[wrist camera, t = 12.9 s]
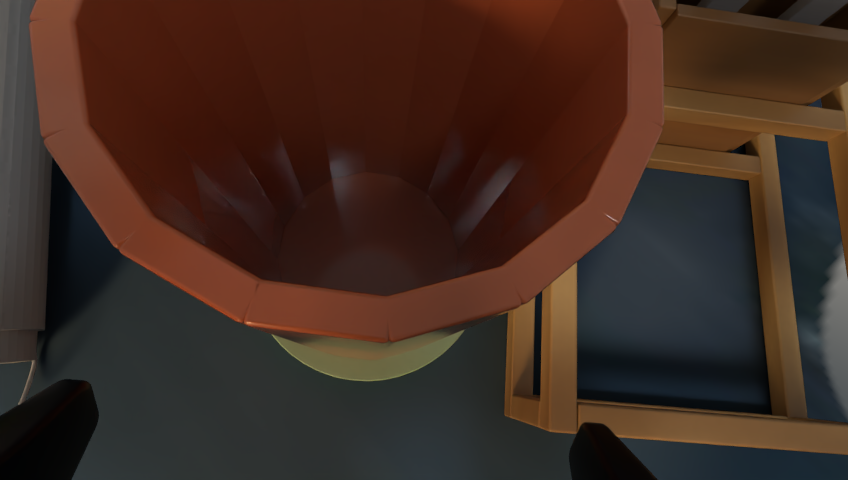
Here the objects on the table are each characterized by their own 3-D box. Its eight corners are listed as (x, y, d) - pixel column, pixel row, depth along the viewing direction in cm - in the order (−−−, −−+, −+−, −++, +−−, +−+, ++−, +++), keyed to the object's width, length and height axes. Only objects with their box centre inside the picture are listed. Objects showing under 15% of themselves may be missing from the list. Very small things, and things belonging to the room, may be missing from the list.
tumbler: (488, 329, 17) (761, 240, 5) (293, 384, 16) (70, 433, 4) (435, 153, 19) (552, -228, 7) (253, 193, 18) (3, -185, 6)
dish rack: (793, 439, 18) (1476, 553, 7) (503, 416, 17) (754, 505, 6) (755, 94, 22) (1157, -191, 11) (516, 60, 21) (684, -290, 10)
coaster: (509, 344, 18) (514, 343, 17) (277, 410, 16) (274, 412, 16) (447, 139, 20) (449, 132, 19) (233, 182, 18) (229, 176, 18)
